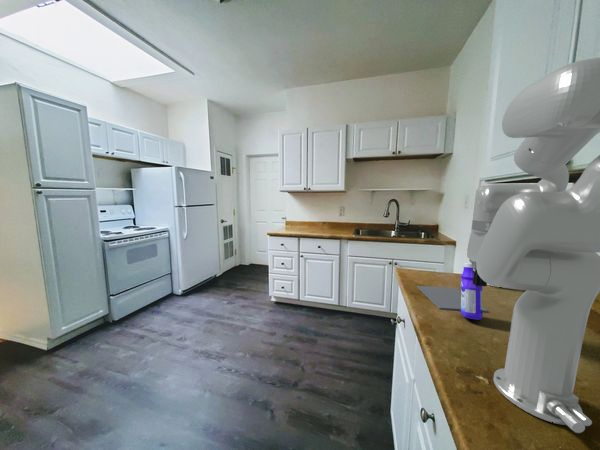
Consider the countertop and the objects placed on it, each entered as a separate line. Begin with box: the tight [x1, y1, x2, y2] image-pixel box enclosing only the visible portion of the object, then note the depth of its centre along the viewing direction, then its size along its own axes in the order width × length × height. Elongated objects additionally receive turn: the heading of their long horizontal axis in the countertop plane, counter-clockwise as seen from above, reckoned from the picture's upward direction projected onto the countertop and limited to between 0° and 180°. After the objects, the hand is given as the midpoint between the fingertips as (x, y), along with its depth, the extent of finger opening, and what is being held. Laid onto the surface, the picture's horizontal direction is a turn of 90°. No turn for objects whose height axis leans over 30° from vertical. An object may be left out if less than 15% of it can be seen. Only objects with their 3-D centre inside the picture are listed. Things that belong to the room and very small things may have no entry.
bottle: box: [460, 262, 484, 321], centre depth 77 cm, size 7×6×17 cm
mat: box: [416, 285, 489, 313], centre depth 92 cm, size 20×16×1 cm
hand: (479, 285), depth 73 cm, fingers closed
